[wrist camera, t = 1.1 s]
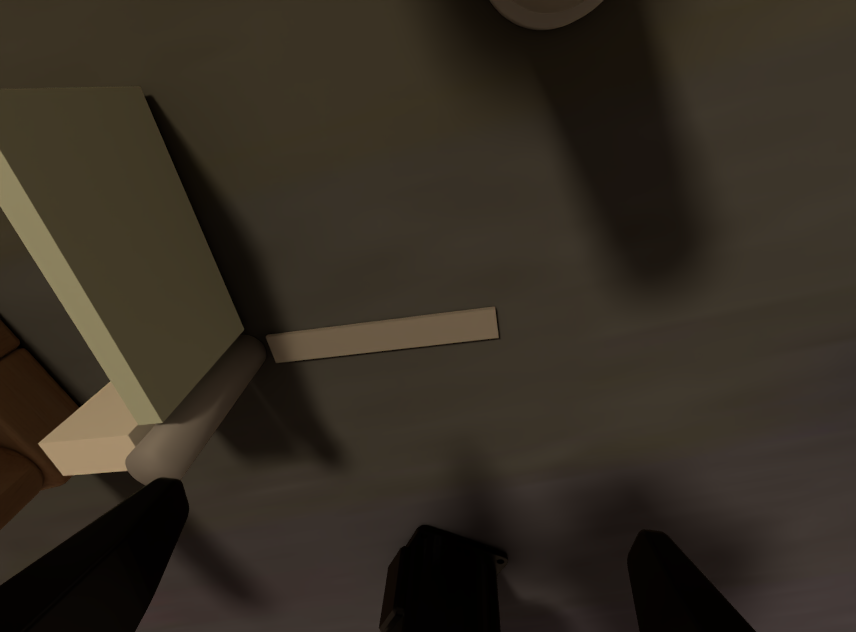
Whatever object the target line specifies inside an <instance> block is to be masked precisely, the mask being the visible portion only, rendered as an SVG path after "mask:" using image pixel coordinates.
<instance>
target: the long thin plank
mask: <svg viewBox="0 0 856 632" xmlns="http://www.w3.org/2000/svg"><path fill="white" fill-rule="evenodd" d="M492 338H499V336H498V328H497V319H496V311H495V307H487V308H479V309H470V310H462V311H454V312H446V313H438V314H430V315H422V316H414V317H406V318H398V319H390V320H382V321H374V322H366V323H358V324H350V325H342V326H334V327H325V328H317V329H309V330H301V331H293V332H285V333H277V334H269V335H267V336H266V339H267V342H268V344H269V347H270V349H271V352H272V354H273V357H274V359H275V362H276V363H281V362H290V361H299V360H308V359H316V358H325V357H334V356H343V355H352V354H360V353H369V352H378V351H387V350H396V349H404V348H413V347H422V346H431V345H439V344H448V343H457V342H466V341H475V340H483V339H492ZM266 357H267V352H266V349H265V347H264V345H263V344H262V343H261V342H260V341H259V340H258V339H257V338H255V337H253V336H250V335H245V334H241V335H239V336H238V337H237V339H236V340H235V341H234V342H233V343H232V344H231V345H230V347H229V348H228V349H227V350H226V351H225V352H224V353H223V355H222V356H221V357H220V358H219V359H218V360H217V361H216V363H215V364H214V365H213V366H212V367H211V368H210V369H209V371H208V372H207V373H206V374H205V375H204V376H203V377H202V379H201V380H200V381H199V382H198V383H197V384H196V385H195V387H194V388H193V389H192V390H191V391H190V392H189V393H188V395H187V396H186V397H185V398H184V399H183V400H182V401H181V403H180V404H179V405H178V406H177V407H176V408H175V409H174V411H173V412H172V413H171V414H170V415H169V416H168V417H167V419H166V420H165V421H164V422H163V423H157V424H146V425H138V424H137V422H136V420H135V419H134V417H133V416H132V414H131V413H130V411H129V409H128V408H127V406H126V405H125V403H124V401H123V400H122V398H121V397H120V395H119V394H118V392H117V390H116V389H115V387H114V386H113V384H112V382H111V381H110V382H109V383H108V384H107V385H106V386H105V387H103V388H102V389H101V390H100V391H99V392H98V393H96V394H95V395H94V396H93V397H92V398H90V399H89V400H88V401H87V402H86V403H85V404H83V405H82V406H81V407H80V408H79V409H78V410H76V411H75V412H74V413H73V414H72V415H71V416H69V417H68V418H67V419H66V420H65V421H64V422H62V423H61V424H60V425H59V426H58V427H57V428H55V429H54V430H53V431H52V432H51V433H50V434H48V435H47V436H46V437H45V438H44V439H43V440H41V441H40V442H39V443H38V444H39V446H40V447H41V448H42V450H43V451H44V452H45V453H46V455H47V456H48V457H49V458H50V460H51V461H52V462H53V463H54V465H55V466H56V467H57V468H58V470H59V471H60V472H61V474H62V475H63V476H68V475H81V474H93V473H106V472H119V471H128V472H129V473H130V475H131V476H132V477H133V478H135V479H136V480H137V481H138V482H140V483H142V484H144V485H147V484H149V483H150V482H152V481H153V480H155V479H157V478H160V477H166V478H175V479H179V480H181V479H182V478H183V476H184V475H185V473H186V472H187V470H188V469H189V468H190V466H191V465H192V463H193V462H194V460H195V459H196V458H197V456H198V455H199V453H200V452H201V451H202V449H203V448H204V446H205V445H206V443H207V442H208V441H209V439H210V438H211V436H212V435H213V434H214V432H215V431H216V429H217V428H218V426H219V425H220V424H221V422H222V421H223V419H224V418H225V417H226V415H227V414H228V412H229V411H230V409H231V408H232V407H233V405H234V404H235V402H236V401H237V399H238V398H239V397H240V395H241V394H242V392H243V391H244V390H245V388H246V387H247V385H248V384H249V382H250V381H251V380H252V378H253V377H254V375H255V374H256V373H257V371H258V370H259V368H260V367H261V365H262V364H263V363H264V361H265V359H266Z"/></svg>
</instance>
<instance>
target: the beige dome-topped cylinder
mask: <svg viewBox="0 0 856 632" xmlns="http://www.w3.org/2000/svg"><path fill="white" fill-rule="evenodd" d="M489 1H490V2H491V4H492V5H493V6H494V8H495V9H496V10H497V11H498V12H499V13H500V14H501V15H502V16H503V17H505V18H506V19H507V20H509V21H510V22H512V23H514V24H516V25H518V26H521V27H523V28H527V29H531V30H551V29H556V28H560V27H563V26H565V25H568V24H570V23H572V22H574V21H576V20H578V19H580V18H582V17H583V16H585V15H586V14H588V13H589V12H591V11H592V10H594V9H595V8H596V7H597V6H598V5H599V4H600V3H601V2H602V1H603V0H489Z"/></svg>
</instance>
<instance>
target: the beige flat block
mask: <svg viewBox="0 0 856 632" xmlns="http://www.w3.org/2000/svg"><path fill="white" fill-rule="evenodd" d="M0 207H1V208H2V210H3V211H4V213H5V215H6V216H7V218H8V219H9V221H10V222H11V224H12V226H13V227H14V229H15V230H16V232H17V234H18V235H19V237H20V238H21V240H22V241H23V243H24V245H25V246H26V248H27V249H28V251H29V253H30V254H31V256H32V257H33V259H34V260H35V262H36V264H37V265H38V267H39V268H40V270H41V272H42V273H43V275H44V276H45V278H46V279H47V281H48V283H49V284H50V286H51V287H52V289H53V291H54V292H55V294H56V295H57V297H58V298H59V300H60V302H61V303H62V305H63V306H64V308H65V310H66V311H67V313H68V314H69V316H70V317H71V319H72V321H73V322H74V324H75V325H76V327H77V329H78V330H79V332H80V333H81V335H82V336H83V338H84V340H85V341H86V343H87V344H88V346H89V348H90V349H91V351H92V352H93V354H94V355H95V357H96V359H97V360H98V362H99V363H100V365H101V367H102V368H103V370H104V371H105V373H106V375H107V376H108V378H109V379H110V381H111V382H112V384H113V386H114V387H115V389H116V390H117V392H118V394H119V395H120V397H121V398H122V400H123V401H124V403H125V405H126V406H127V408H128V409H129V411H130V413H131V414H132V416H133V417H134V419H135V420H136V422H137V424H138V425H146V424H157V423H163V422H164V421H165V420H166V419H167V417H168V416H169V415H170V414H171V413H172V412H173V411H174V409H175V408H176V407H177V406H178V405H179V404H180V403H181V401H182V400H183V399H184V398H185V397H186V396H187V395H188V393H189V392H190V391H191V390H192V389H193V388H194V387H195V385H196V384H197V383H198V382H199V381H200V380H201V379H202V377H203V376H204V375H205V374H206V373H207V372H208V371H209V369H210V368H211V367H212V366H213V365H214V364H215V363H216V361H217V360H218V359H219V358H220V357H221V356H222V355H223V353H224V352H225V351H226V350H227V349H228V348H229V347H230V345H231V344H232V343H233V342H234V341H235V340H236V339H237V337H238V336H239V335H240V334H241V333H242V332H243V331H244V328H243V325H242V323H241V321H240V318H239V316H238V314H237V311H236V309H235V307H234V304H233V302H232V300H231V297H230V295H229V293H228V290H227V288H226V286H225V283H224V281H223V279H222V276H221V274H220V272H219V269H218V267H217V265H216V262H215V260H214V258H213V255H212V253H211V251H210V248H209V246H208V244H207V241H206V239H205V237H204V234H203V232H202V230H201V227H200V225H199V223H198V220H197V218H196V216H195V213H194V211H193V209H192V206H191V204H190V202H189V199H188V197H187V195H186V192H185V190H184V188H183V185H182V183H181V181H180V178H179V176H178V174H177V171H176V169H175V167H174V164H173V162H172V160H171V157H170V155H169V153H168V150H167V148H166V146H165V143H164V141H163V139H162V136H161V134H160V132H159V129H158V127H157V125H156V122H155V120H154V118H153V115H152V113H151V111H150V108H149V106H148V104H147V101H146V99H145V97H144V94H143V92H142V90H141V87H140V86H123V87H71V88H20V89H0Z"/></svg>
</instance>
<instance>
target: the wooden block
mask: <svg viewBox="0 0 856 632" xmlns="http://www.w3.org/2000/svg"><path fill="white" fill-rule="evenodd" d="M19 345H20V341H19V339H18V338H17V337H16V336H15V335H14V334H13V333H12V332H11V330H10V329H9V328H8V327H7V326H6V325H5V324H4V323H3V322H2V321H1V319H0V530H1V529H2V528H3V527H4V526H5V525H6V524H7V523H8V522H9V521H10V520H11V519H12V518H13V517H14V516H15V515H16V514H17V513H18V512H19V511H20V510H21V509H22V508H23V507H24V506H25V505H26V504H28V503H29V502H30V501H31V500H32V499H33V498H34V497H35V496H36V495H37V494H38V493H39V491H40V490H45V489H49V488H53V487H57V486H61V485H63V484H65V483H66V482H67V481H68V480H69V479H70V478H71V477H72V476H73V475H68V476H63V475H62V474H61V472H60V471H59V470H58V468H57V467H56V466H55V465H54V463H53V462H52V461H51V460H50V458H49V457H48V456H47V455H46V453H45V452H44V451H43V450H42V448H41V447H40V446H39V444H38V443H39V442H40V441H41V440H43V439H44V438H45V437H46V436H47V435H48V434H50V433H51V432H52V431H53V430H54V429H55V428H57V427H58V426H59V425H60V424H61V423H62V422H64V421H65V420H66V419H67V418H68V417H69V416H71V415H72V414H73V413H74V412H75V411H76V410H78V409H79V406H78V405H77V404H76V403H75V402H74V401H73V400H72V399H71V398H70V397H69V395H68V394H67V393H66V392H65V391H64V390H63V389H62V388H61V387H60V386H59V385H58V383H57V382H56V381H55V380H54V379H53V378H52V377H51V376H50V375H49V374H48V372H47V371H46V370H45V369H44V368H43V367H42V366H41V365H40V364H39V363H38V361H37V360H36V359H35V358H34V357H33V356H32V355H31V354H30V353H29V352H28V351H27V350H26V349H24V348H18V349H16V348H17V347H18V346H19Z"/></svg>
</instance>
